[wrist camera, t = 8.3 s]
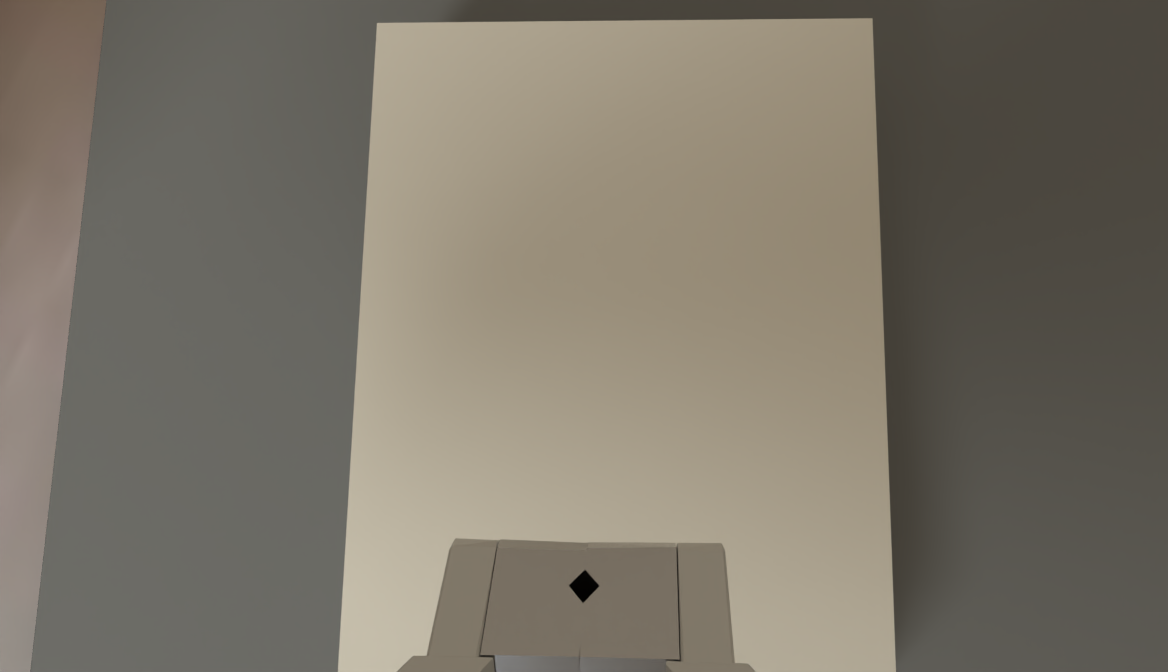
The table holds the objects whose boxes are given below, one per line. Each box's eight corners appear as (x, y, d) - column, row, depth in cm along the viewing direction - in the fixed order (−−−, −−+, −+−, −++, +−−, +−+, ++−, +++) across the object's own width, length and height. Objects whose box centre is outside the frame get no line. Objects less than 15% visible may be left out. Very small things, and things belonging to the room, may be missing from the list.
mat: (1257, 1033, 18) (1274, 1047, 17) (10, 978, 19) (-6, 989, 19) (1149, -125, 22) (1161, -140, 22) (131, -108, 23) (120, -122, 23)
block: (897, 721, 17) (872, 18, 19) (335, 705, 17) (377, 22, 19) (867, 700, 19) (847, 74, 21) (372, 686, 19) (404, 76, 22)
